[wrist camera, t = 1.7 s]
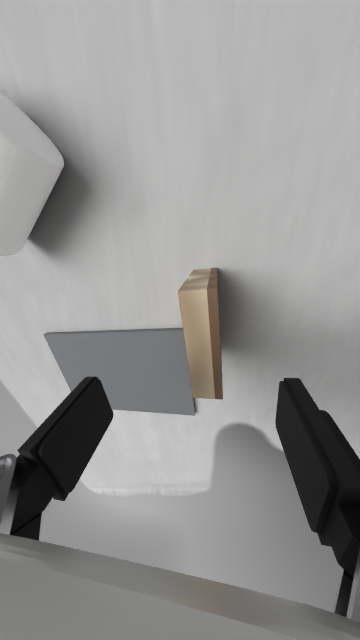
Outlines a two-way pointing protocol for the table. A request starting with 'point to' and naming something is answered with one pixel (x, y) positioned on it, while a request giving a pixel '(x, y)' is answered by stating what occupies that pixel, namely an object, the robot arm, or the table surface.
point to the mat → (129, 367)
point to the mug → (23, 175)
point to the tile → (202, 332)
